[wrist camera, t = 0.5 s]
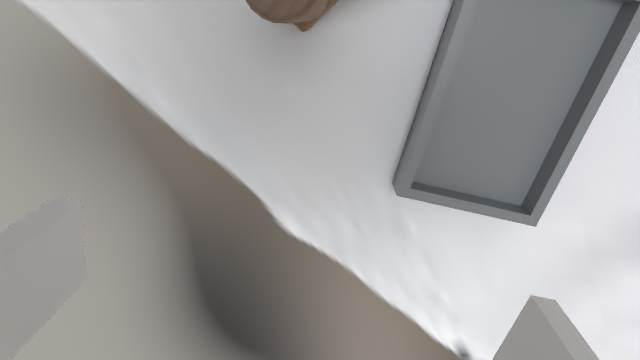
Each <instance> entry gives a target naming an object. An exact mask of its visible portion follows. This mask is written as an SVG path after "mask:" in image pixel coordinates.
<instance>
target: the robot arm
mask: <svg viewBox="0 0 640 360" xmlns="http://www.w3.org/2000/svg"><path fill="white" fill-rule="evenodd" d="M86 279H87V274H86V256H85V241H84V224H83V206H82V202H81V201H77V200H72V199H67V198H62V197H57V196H53V197H52V198H50V199H49V200H47V201H46V202H44V203H43V204H41V205H40V206H38V207H37V208H35V209H34V210H32V211H31V212H29V213H28V214H26V215H25V216H23V217H22V218H20V219H19V220H17V221H16V222H14V223H13V224H11V225H10V226H8V227H7V228H5V229H4V230H2V231H1V232H0V360H12V359H13V358H14V357H15V356H16V355H17V354H18V353H19V351H20V350H21V349H22V348H23V347H24V346H25V345H26V344H27V343H28V342H29V341H30V340H31V338H32V337H33V336H34V335H35V334H36V333H37V332H38V331H39V330H40V329H41V328H42V327H43V325H44V324H45V323H46V322H47V321H48V320H49V319H50V318H51V317H52V316H53V315H54V313H55V312H56V311H57V310H58V309H59V308H60V307H61V306H62V305H63V304H64V303H65V302H66V301H67V299H68V298H69V297H70V296H71V295H72V294H73V293H74V292H75V291H76V290H77V288H79V286H80V285H81V284H82V283H83V282H84V281H85V280H86ZM493 360H599V358H598V357H597V356H596V354H595V353H594V352H593V350H592V349H591V348H590V346H589V345H588V344H587V342H586V341H585V340H584V338H583V337H582V336H581V334H580V333H579V331H578V330H577V329H576V327H575V326H574V325H573V323H572V322H571V321H570V319H569V318H568V317H567V315H566V314H565V313H564V311H563V310H562V308H561V307H560V306H559V304H558V303H557V302H556V300H552V299H547V298H542V297H537V296H533V295H531V296H530V298H529V299H528V301H527V303H526V304H525V306H524V308H523V309H522V311H521V313H520V314H519V316H518V318H517V319H516V321H515V323H514V324H513V326H512V328H511V329H510V331H509V333H508V334H507V336H506V338H505V339H504V341H503V343H502V344H501V346H500V348H499V349H498V351H497V353H496V354H495V356H494V358H493Z"/></svg>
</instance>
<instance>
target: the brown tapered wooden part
mask: <svg viewBox="0 0 640 360" xmlns="http://www.w3.org/2000/svg"><path fill="white" fill-rule="evenodd" d="M337 1H338V0H246V2H247V3H248V5H249V6H250V8H251V9H252V10H253V11H254V12H255V13H257V14H258V15H259V16H260V17H261V18H264V19H266V20H268V21H271V22H273V23H294V24H295V25H296V26H297V27H298V28H299V29H300V31H302V32H304V31H307V30H309V29H310V28H311V27H312V26H313V25H314V24H315V23H316V22H317V21H318V20H319V19H320V18H321V17H322V16H323V15H324V14H325V13H326V12H327V11H328V10H329V9H330V8H331V7H332V6H333V5H334V4H335V3H336V2H337Z"/></svg>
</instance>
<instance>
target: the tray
mask: <svg viewBox="0 0 640 360" xmlns="http://www.w3.org/2000/svg"><path fill="white" fill-rule="evenodd" d="M639 32H640V0H454V1H453V4H452V7H451V10H450V13H449V16H448V19H447V22H446V25H445V28H444V31H443V34H442V37H441V40H440V43H439V46H438V49H437V52H436V54H435V57H434V60H433V63H432V66H431V69H430V72H429V75H428V78H427V81H426V84H425V87H424V90H423V93H422V96H421V99H420V102H419V105H418V108H417V111H416V114H415V117H414V120H413V123H412V126H411V129H410V132H409V135H408V138H407V141H406V144H405V147H404V150H403V153H402V156H401V159H400V162H399V165H398V168H397V171H396V174H395V177H394V180H393V186H394V189H395V191H396V194H397V196H401V197H406V198H410V199H415V200H419V201H424V202H428V203H433V204H437V205H442V206H446V207H450V208H455V209H459V210H464V211H468V212H473V213H477V214H482V215H486V216H491V217H495V218H500V219H504V220H508V221H513V222H517V223H522V224H526V225H531V226H535V227H536V225H537V223H538V221H539V219H540V218H541V216H542V214H543V212H544V210H545V208H546V206H547V204H548V203H549V201H550V199H551V197H552V195H553V193H554V191H555V189H556V188H557V186H558V184H559V182H560V180H561V178H562V176H563V174H564V173H565V171H566V169H567V167H568V165H569V163H570V161H571V159H572V157H573V156H574V154H575V152H576V150H577V148H578V146H579V144H580V142H581V141H582V139H583V137H584V135H585V133H586V131H587V129H588V127H589V126H590V124H591V122H592V120H593V118H594V116H595V114H596V112H597V111H598V109H599V107H600V105H601V103H602V101H603V99H604V97H605V96H606V94H607V92H608V90H609V88H610V86H611V84H612V82H613V80H614V79H615V77H616V75H617V73H618V71H619V69H620V67H621V65H622V64H623V62H624V60H625V58H626V56H627V54H628V52H629V50H630V49H631V47H632V45H633V43H634V41H635V39H636V37H637V35H638V34H639Z"/></svg>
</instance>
